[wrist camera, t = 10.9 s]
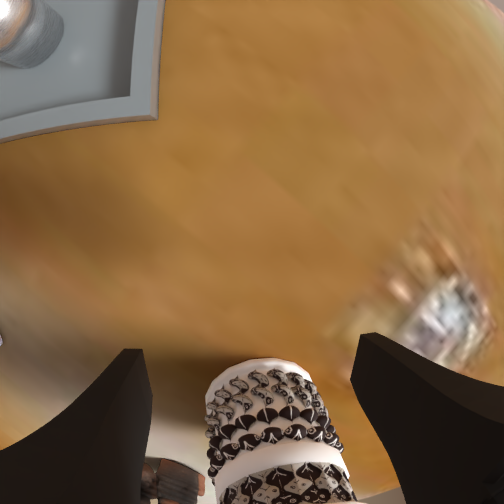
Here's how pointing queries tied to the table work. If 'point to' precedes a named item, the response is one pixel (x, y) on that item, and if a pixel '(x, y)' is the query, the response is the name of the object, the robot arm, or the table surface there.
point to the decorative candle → (273, 438)
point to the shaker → (28, 32)
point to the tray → (88, 71)
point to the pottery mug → (171, 484)
